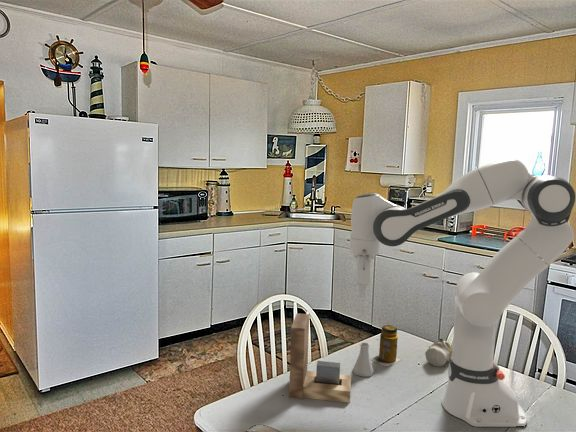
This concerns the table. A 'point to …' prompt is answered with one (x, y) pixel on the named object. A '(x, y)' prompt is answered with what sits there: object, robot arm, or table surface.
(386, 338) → the condiment
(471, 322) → the robot arm
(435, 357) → the ceramic sculpture
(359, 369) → the flask
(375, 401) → the table surface
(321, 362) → the brushed steel bar
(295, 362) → the tan slotted wooden fixture
